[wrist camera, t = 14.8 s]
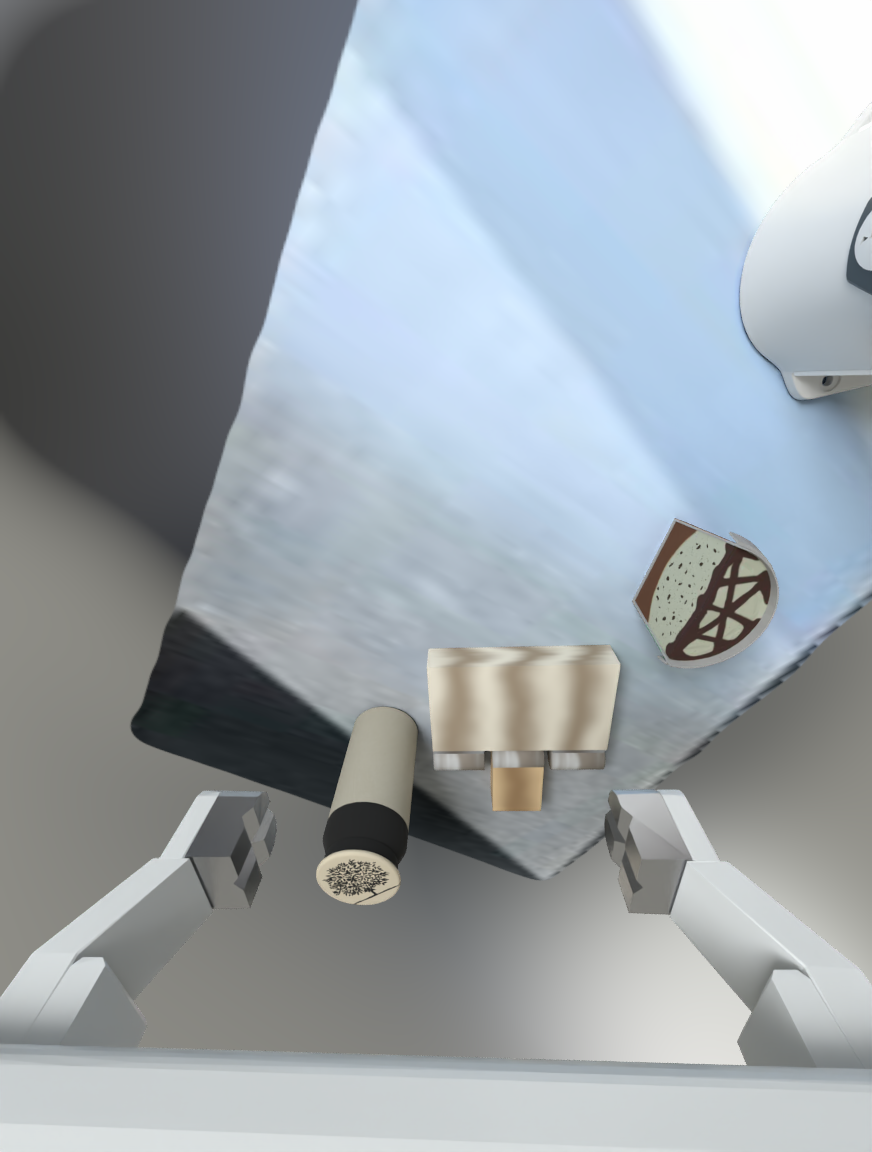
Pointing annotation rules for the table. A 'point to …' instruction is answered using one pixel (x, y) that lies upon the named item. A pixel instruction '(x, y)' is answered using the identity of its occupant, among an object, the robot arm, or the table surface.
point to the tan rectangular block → (517, 780)
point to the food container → (706, 596)
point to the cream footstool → (522, 703)
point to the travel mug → (370, 810)
